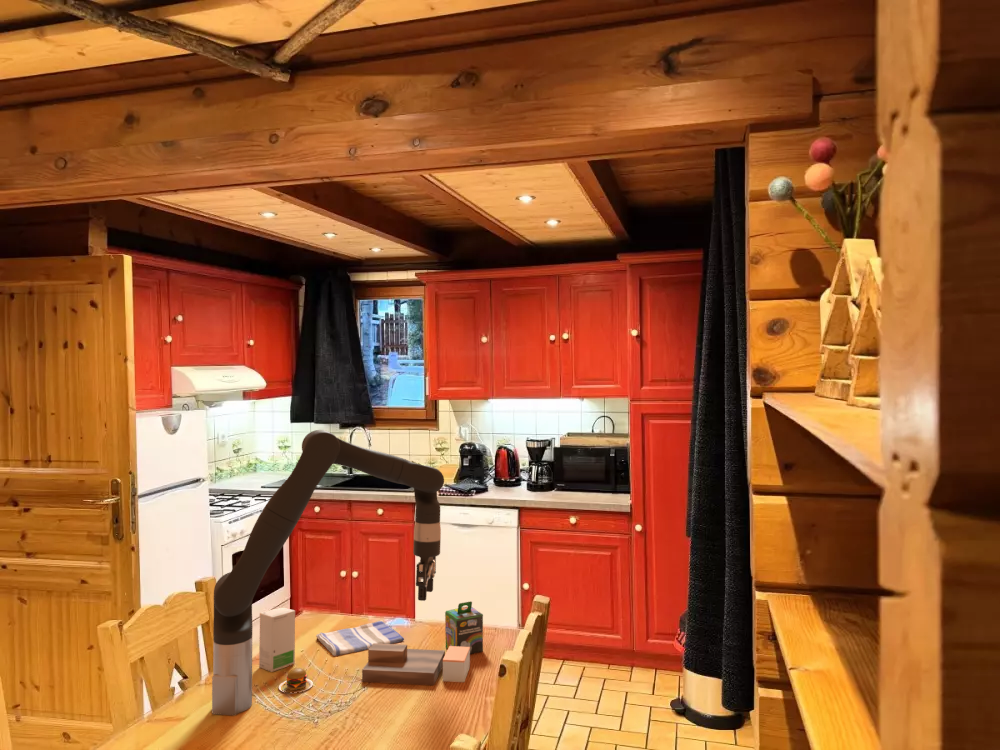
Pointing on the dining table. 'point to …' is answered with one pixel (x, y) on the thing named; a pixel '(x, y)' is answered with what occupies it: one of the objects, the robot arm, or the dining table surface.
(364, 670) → the step stand
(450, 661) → the brick
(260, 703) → the dining table surface
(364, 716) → the dining table surface
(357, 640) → the dish towel
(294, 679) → the hamburger
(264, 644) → the skincare box
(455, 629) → the chalk box
